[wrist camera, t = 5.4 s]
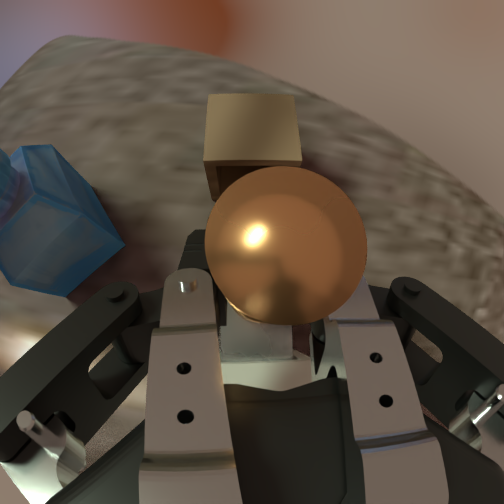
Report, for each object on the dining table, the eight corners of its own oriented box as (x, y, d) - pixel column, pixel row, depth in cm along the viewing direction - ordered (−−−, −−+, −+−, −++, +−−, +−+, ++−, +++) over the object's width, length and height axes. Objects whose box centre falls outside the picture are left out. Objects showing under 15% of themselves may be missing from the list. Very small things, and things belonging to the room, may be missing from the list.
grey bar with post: (230, 467, 14) (218, 633, 1) (224, 222, 18) (197, 36, 5) (283, 465, 15) (339, 623, 2) (278, 221, 18) (339, 42, 5)
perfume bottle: (90, 185, 20) (3, 88, 8) (125, 245, 19) (14, 157, 7) (37, 234, 19) (-67, 172, 7) (65, 297, 18) (-65, 263, 6)
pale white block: (217, 473, 15) (211, 514, 10) (211, 351, 17) (199, 363, 12) (294, 470, 15) (310, 509, 10) (294, 349, 17) (315, 359, 12)
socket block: (212, 200, 20) (203, 160, 14) (214, 140, 21) (208, 94, 16) (287, 199, 20) (302, 160, 15) (282, 140, 21) (293, 95, 16)
